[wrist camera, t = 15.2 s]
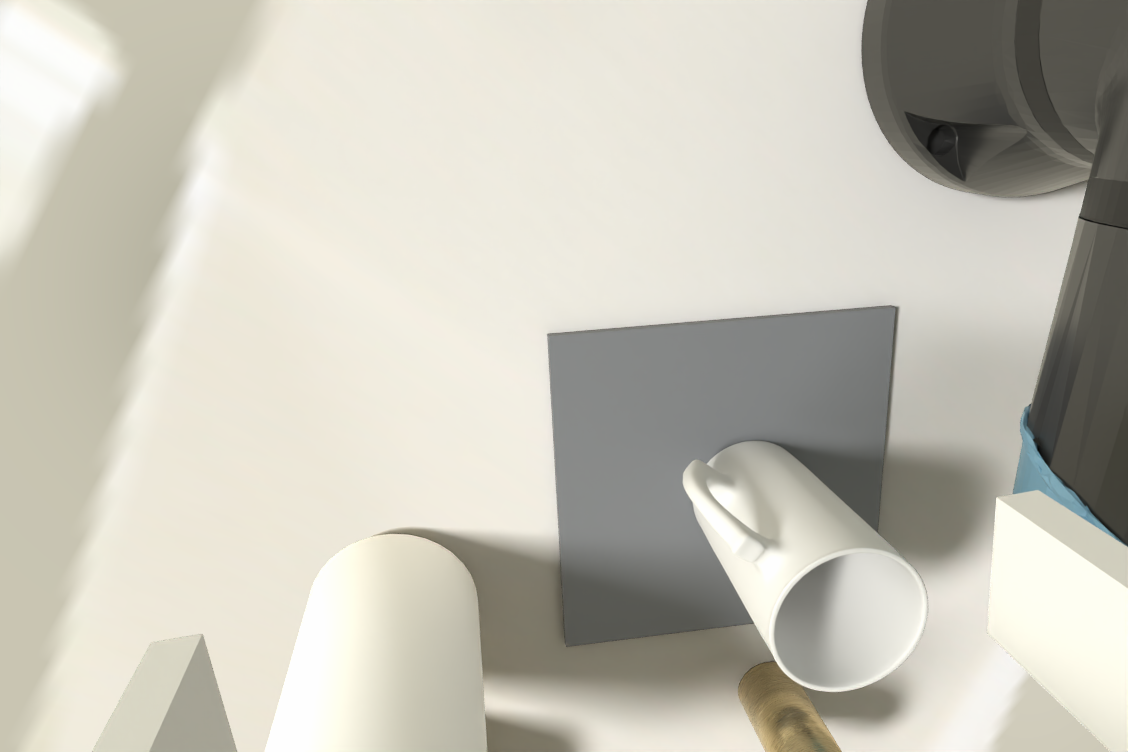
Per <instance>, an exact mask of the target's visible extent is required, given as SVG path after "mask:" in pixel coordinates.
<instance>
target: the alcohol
mask: <svg viewBox="0 0 1128 752" xmlns="http://www.w3.org/2000/svg"><path fill="white" fill-rule="evenodd" d="M265 752H487V737H486V721H485V704H484V688H483V671H482V655H481V638H480V622H479V605H478V596H477V589H476V587H475V584H474V581H473V578H472V576H471V574H470V573H469V571H468V570H467V568H466V567H465V565H464V564H463V563H462V562H461V561H460V560H459V559H458V558H457V557H456V556H455V555H454V554H453V553H452V552H450V551H449V550H447V549H446V548H444V547H443V546H441V545H440V544H438V543H435V542H433V541H430V540H428V539H426V538H422V537H417V536H413V535H408V534H385V535H378V536H372V537H369V538H366V539H363V540H360V541H357V542H355V543H353V544H351V545H349V546H347V547H345V548H344V549H342V550H341V551H340V552H338V553H337V554H336V555H334V556H333V557H332V558H331V559H330V560H329V561H328V562H327V563H326V564H325V566H324V567H323V568H322V569H321V570H320V572H319V574H318V575H317V577H316V579H315V581H314V583H313V585H312V589H311V592H310V596H309V599H308V603H307V606H306V610H305V613H304V617H303V620H302V624H301V627H300V631H299V634H298V638H297V641H296V645H295V648H294V652H293V655H292V659H291V662H290V666H289V669H288V673H287V676H286V680H285V683H284V687H283V690H282V694H281V697H280V701H279V704H278V708H277V711H276V715H275V718H274V721H273V725H272V728H271V732H270V735H269V739H268V742H267V746H266V749H265Z"/></svg>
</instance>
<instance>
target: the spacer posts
mask: <svg viewBox="0 0 1128 752" xmlns="http://www.w3.org/2000/svg"><path fill="white" fill-rule="evenodd" d="M738 696H739V699H740V701H741V703H742V705H743V707H744V709H745V711H746V713H747V715H748V717H749V719H750V722H751V724H752V726H753V728H754V730H755V732H756V734H757V736H758V738H759V740H760V742H761V744H762V746H763V748H764V750H765V752H842V751H841V750H840V748H839V746H838V745H837V743H836V741H835V740H834V738H833V737H832V735H831V733H830V732H829V730H828V728H827V727H826V725H825V724H824V722H823V720H822V719H821V717H820V715H819V714H818V712H817V710H816V709H815V707H814V706H813V704H812V702H811V701H810V699H809V697H808V696H807V694H806V693H805V691H804V689H803V688H802V686H801V685H800V684H798V683H797V682H795V681H793V680H792V679H791V678H789V677H788V676H787V675H786V674H785V673H784V672H783V671H782V670H781V668H780V667H779V666H778V664H777V662H766V663H762V664H759V665H757V666H755V667H753V668H752V669H750V670H749V671H748V672H747V673H746V674H745V675H744V676H743V678H742V680H741V681H740V684H739V687H738Z"/></svg>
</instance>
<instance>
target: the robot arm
mask: <svg viewBox="0 0 1128 752" xmlns="http://www.w3.org/2000/svg"><path fill="white" fill-rule="evenodd" d="M862 67H863V76H864V82H865V88H866V92H867V96H868V100H869V103H870V106H871V109H872V111H873V114H874V116H875V119H876V121H877V123H878V125H879V127H880V129H881V131H882V132H883V134H884V136H885V137H886V139H887V140H888V142H889V143H890V145H891V146H892V147H893V149H894V150H895V151H896V152H897V153H898V154H899V156H900V157H901V158H902V159H903V160H904V161H905V162H906V163H908V164H909V165H910V166H911V167H912V168H913V169H915V170H916V171H917V172H919V173H920V174H922V175H923V176H925V177H926V178H928V179H930V180H932V181H934V182H936V183H938V184H941V185H943V186H946V187H949V188H952V189H955V190H960V191H964V192H971V193H977V194H984V195H991V196H1000V197H1019V196H1029V195H1037V194H1042V193H1047V192H1050V191H1054V190H1058V189H1061V188H1064V187H1067V186H1070V185H1073V184H1076V183H1079V182H1082V181H1085V180H1088V179H1089V180H1088V184H1087V189H1086V193H1085V197H1084V201H1083V205H1082V209H1081V213H1080V214H1079V217H1078V222H1077V226H1076V230H1075V235H1074V239H1073V243H1072V247H1071V251H1070V255H1069V259H1068V263H1067V267H1066V270H1065V274H1064V278H1063V282H1062V286H1061V290H1060V294H1059V298H1058V302H1057V306H1056V309H1055V313H1054V317H1053V321H1052V325H1051V329H1050V333H1049V337H1048V341H1047V345H1046V348H1045V352H1044V356H1043V360H1042V364H1041V368H1040V372H1039V376H1038V380H1037V384H1036V388H1035V391H1034V395H1033V399H1032V403H1031V404H1030V405H1029V406H1027V407H1025V409H1024V412H1023V414H1022V417H1021V422H1020V432H1021V436H1022V439H1023V443H1022V448H1021V453H1020V458H1019V464H1018V469H1017V474H1016V479H1015V484H1014V489H1013V494H1012V495H1006V496H1000V497H996V510H995V524H994V539H993V553H992V567H991V581H990V596H989V610H988V624H987V634H988V635H989V636H990V637H991V638H992V639H993V640H994V641H995V642H996V643H997V644H998V645H999V646H1000V647H1001V648H1003V649H1004V650H1005V651H1006V652H1007V653H1008V654H1009V655H1010V656H1011V657H1012V658H1013V659H1014V660H1015V661H1016V662H1017V663H1018V664H1019V665H1020V666H1021V667H1022V668H1023V669H1024V670H1025V671H1027V672H1028V673H1029V674H1030V675H1031V676H1032V677H1033V678H1034V679H1035V680H1036V681H1037V682H1038V683H1039V684H1040V685H1041V686H1042V687H1043V688H1044V689H1045V690H1046V691H1048V692H1049V693H1050V694H1051V695H1052V696H1053V697H1054V698H1055V699H1056V700H1057V701H1058V702H1059V703H1060V704H1061V705H1062V706H1063V707H1064V708H1065V709H1066V710H1067V711H1068V712H1069V713H1070V714H1072V715H1073V716H1074V717H1075V718H1076V719H1077V720H1078V721H1079V722H1080V723H1081V724H1082V725H1083V726H1084V727H1085V728H1086V729H1087V730H1088V731H1090V733H1091V734H1092V735H1093V736H1094V737H1095V738H1096V739H1098V740H1099V741H1100V742H1101V743H1102V744H1103V745H1104V746H1105V747H1106V748H1107V749H1108V750H1109V751H1110V752H1128V0H868V2H867V6H866V11H865V17H864V23H863V32H862ZM92 752H237V750H236V746H235V743H234V739H233V736H232V733H231V729H230V726H229V722H228V719H227V715H226V712H225V709H224V705H223V702H222V698H221V695H220V692H219V688H218V685H217V681H216V678H215V675H214V671H213V668H212V664H211V661H210V657H209V654H208V651H207V647H206V644H205V640H204V637H203V634H198V635H192V636H186V637H180V638H174V639H169V640H163V641H157V642H151V643H150V645H149V647H148V649H147V651H146V653H145V655H144V656H143V658H142V660H141V662H140V664H139V666H138V667H137V669H136V671H135V673H134V675H133V677H132V679H131V680H130V682H129V684H128V686H127V688H126V690H125V691H124V693H123V695H122V697H121V699H120V701H119V703H118V704H117V706H116V708H115V710H114V712H113V714H112V715H111V717H110V719H109V721H108V723H107V725H106V727H105V728H104V730H103V732H102V734H101V736H100V738H99V739H98V741H97V743H96V745H95V747H94V749H93V751H92Z"/></svg>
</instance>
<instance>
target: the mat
mask: <svg viewBox="0 0 1128 752" xmlns="http://www.w3.org/2000/svg"><path fill="white" fill-rule="evenodd" d="M894 321H895V307H893V306H879V307H866V308H854V309H842V310H830V311H818V312H806V313H794V314H782V315H770V316H757V317H745V318H733V319H721V320H709V321H697V322H685V323H673V324H661V325H649V326H636V327H624V328H612V329H600V330H588V331H576V332H564V333H552V334H547V337H548V354H549V372H550V389H551V406H552V424H553V441H554V459H555V476H556V494H557V511H558V528H559V546H560V563H561V581H562V598H563V616H564V633H565V644H566V647H568V646H576V645H584V644H592V643H600V642H608V641H616V640H624V639H632V638H640V637H648V636H656V635H664V634H672V633H680V632H688V631H696V630H704V629H712V628H720V627H728V626H736V625H744V624H752V623H754V622H753V620H752V618H751V617H750V615H749V613H748V611H747V609H746V608H745V606H744V604H743V602H742V600H741V599H740V597H739V595H738V593H737V591H736V590H735V588H734V586H733V584H732V582H731V581H730V579H729V577H728V575H727V573H726V572H725V570H724V568H723V566H722V564H721V563H720V561H719V559H718V557H717V556H716V554H715V552H714V550H713V549H712V547H711V545H710V543H709V541H708V539H707V537H706V536H705V534H704V532H703V530H702V528H701V526H700V525H699V523H698V521H697V519H696V516H695V513H694V508H693V502H692V501H691V499H690V498H689V496H688V494H687V493H686V491H685V489H684V486H683V473H684V471H685V469H686V468H687V467H688V466H689V464H690V463H691V462H692V461H693V460H700V461H702V462H704V463H706V464H707V463H708V462H709V461H710V460H711V459H712V458H713V457H714V456H715V455H716V454H718V453H719V452H720V451H722V450H724V449H725V448H727V447H729V446H732V445H734V444H737V443H741V442H745V441H765V442H769V443H773V444H775V445H778V446H780V447H782V448H783V449H785V450H786V451H788V452H789V453H790V454H791V455H793V456H794V457H795V458H796V459H797V460H798V461H800V462H801V463H802V464H803V465H804V466H805V467H806V468H808V469H809V470H810V471H811V472H812V473H813V474H814V475H815V476H816V477H817V478H818V479H819V480H820V481H821V482H823V483H824V484H825V485H826V486H827V487H828V488H829V489H830V490H831V491H832V492H833V493H834V494H836V495H837V496H838V497H839V498H840V499H841V500H842V501H843V502H844V503H845V504H846V505H848V506H849V507H850V508H851V509H852V510H853V511H854V512H855V513H856V514H857V515H858V516H860V517H861V518H862V519H863V520H864V521H865V522H866V523H867V524H868V525H869V526H870V527H872V528H873V529H874V530H875V531H876V532H877V533H878V523H879V510H880V498H881V485H882V472H883V460H884V447H885V434H886V422H887V409H888V397H889V384H890V371H891V359H892V346H893V333H894Z"/></svg>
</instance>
